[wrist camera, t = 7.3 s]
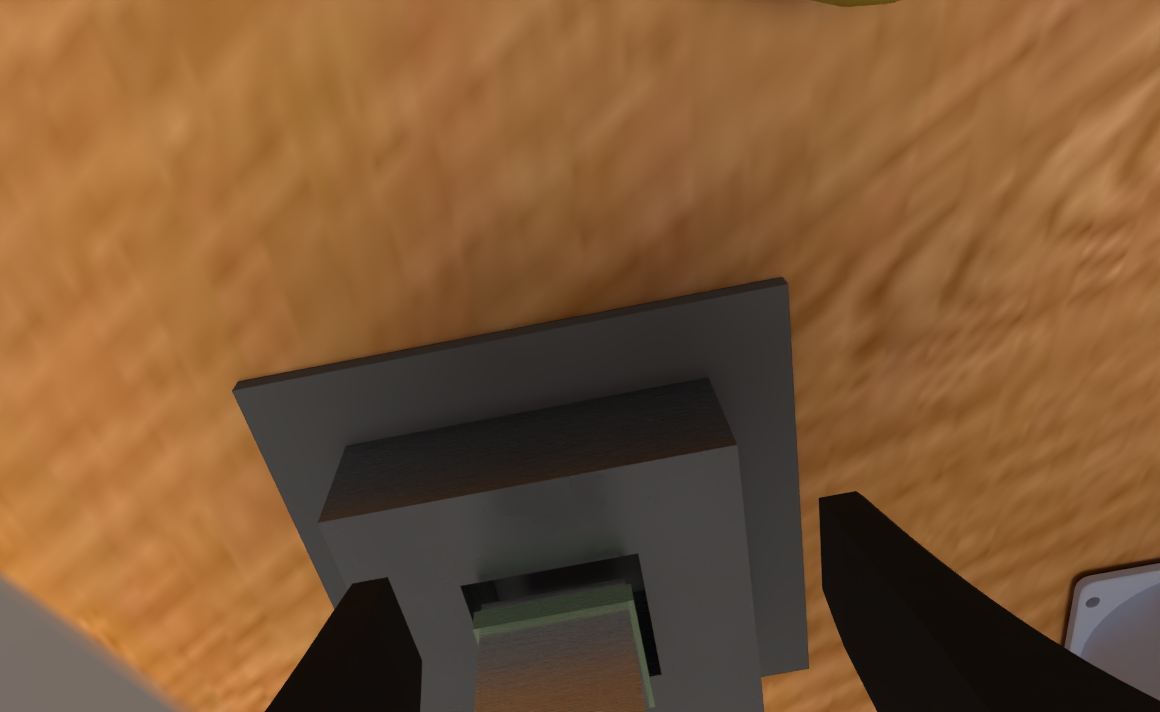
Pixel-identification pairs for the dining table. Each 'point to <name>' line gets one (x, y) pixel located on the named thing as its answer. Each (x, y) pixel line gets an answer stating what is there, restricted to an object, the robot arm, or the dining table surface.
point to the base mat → (555, 377)
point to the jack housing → (562, 532)
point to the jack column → (562, 652)
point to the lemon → (856, 2)
